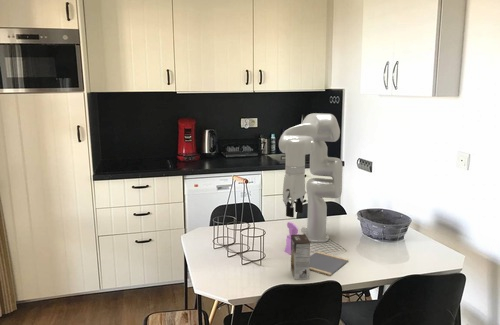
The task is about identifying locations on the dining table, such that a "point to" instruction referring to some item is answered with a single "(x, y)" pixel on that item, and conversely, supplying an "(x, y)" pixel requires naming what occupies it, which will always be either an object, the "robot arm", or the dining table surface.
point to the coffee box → (300, 256)
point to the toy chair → (292, 231)
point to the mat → (326, 263)
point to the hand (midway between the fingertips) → (294, 214)
